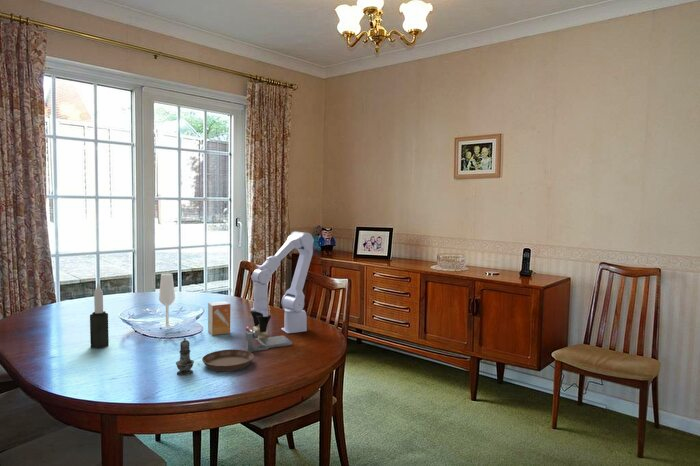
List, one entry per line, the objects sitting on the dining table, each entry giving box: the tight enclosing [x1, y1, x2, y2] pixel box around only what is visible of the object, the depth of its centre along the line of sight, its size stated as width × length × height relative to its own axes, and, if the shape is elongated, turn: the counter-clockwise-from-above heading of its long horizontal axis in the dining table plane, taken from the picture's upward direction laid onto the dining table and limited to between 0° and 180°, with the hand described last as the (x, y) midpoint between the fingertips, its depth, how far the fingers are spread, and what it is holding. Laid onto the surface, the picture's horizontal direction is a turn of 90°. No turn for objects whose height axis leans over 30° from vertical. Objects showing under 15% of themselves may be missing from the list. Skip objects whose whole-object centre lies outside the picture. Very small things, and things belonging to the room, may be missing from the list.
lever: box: [245, 326, 258, 340], centre depth 190 cm, size 2×11×3 cm, turn 28°
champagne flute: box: [158, 272, 176, 327], centre depth 214 cm, size 7×7×24 cm
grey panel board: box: [245, 331, 293, 353], centre depth 193 cm, size 19×12×7 cm, turn 118°
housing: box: [252, 325, 269, 341], centre depth 203 cm, size 5×5×6 cm
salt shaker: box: [175, 337, 195, 377], centre depth 161 cm, size 6×6×12 cm
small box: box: [207, 300, 231, 336], centre depth 208 cm, size 8×6×13 cm
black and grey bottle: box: [89, 282, 110, 350], centre depth 186 cm, size 5×5×25 cm
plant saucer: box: [201, 348, 254, 372], centre depth 171 cm, size 18×18×3 cm
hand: (260, 329), depth 203 cm, fingers open, 7 cm apart
